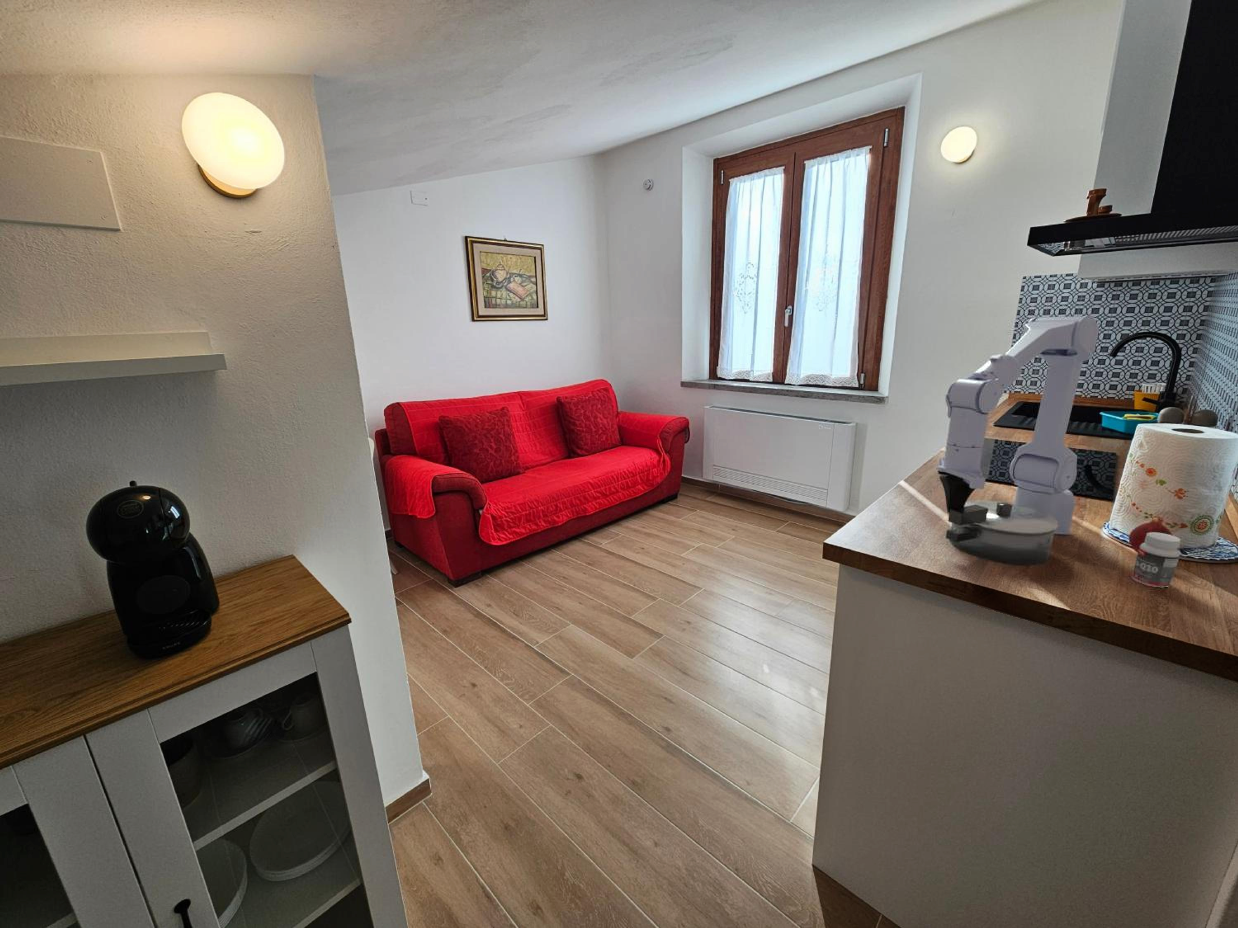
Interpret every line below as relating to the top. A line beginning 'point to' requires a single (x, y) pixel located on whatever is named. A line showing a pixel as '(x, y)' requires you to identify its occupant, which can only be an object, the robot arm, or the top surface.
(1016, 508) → the cooker lid
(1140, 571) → the pill bottle
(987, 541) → the cooker pot
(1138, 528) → the onion
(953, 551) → the top surface
